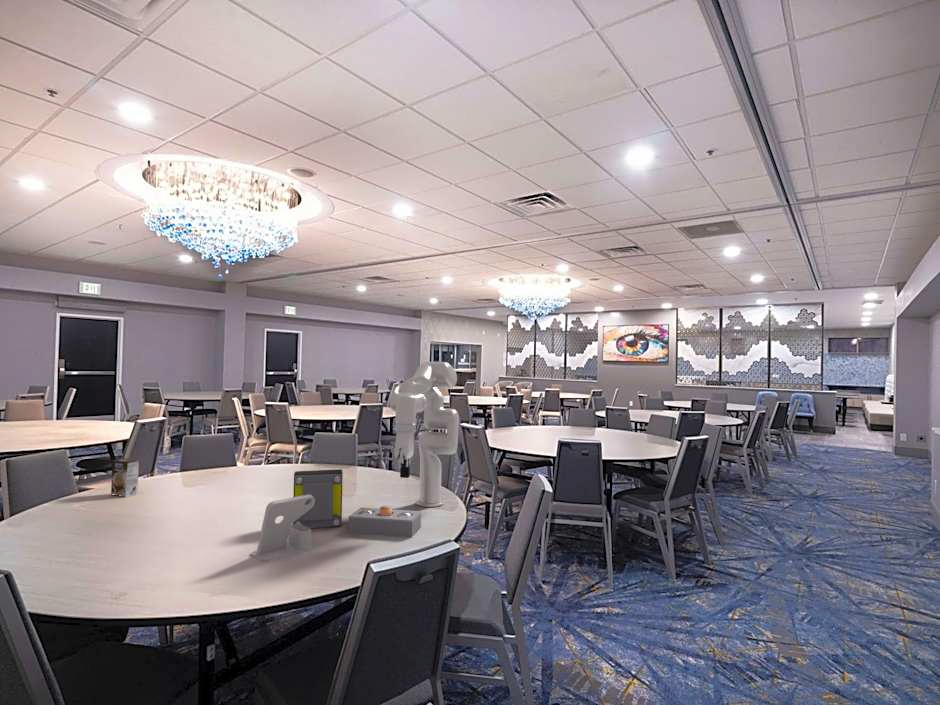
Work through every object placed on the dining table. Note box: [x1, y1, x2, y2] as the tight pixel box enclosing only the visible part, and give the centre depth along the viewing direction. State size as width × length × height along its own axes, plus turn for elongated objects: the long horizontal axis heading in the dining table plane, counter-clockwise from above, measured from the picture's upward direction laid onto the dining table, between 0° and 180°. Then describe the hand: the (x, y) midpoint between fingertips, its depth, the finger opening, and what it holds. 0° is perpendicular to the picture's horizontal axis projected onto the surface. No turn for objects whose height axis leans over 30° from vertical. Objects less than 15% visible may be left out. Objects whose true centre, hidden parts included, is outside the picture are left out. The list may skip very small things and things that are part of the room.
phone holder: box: [250, 495, 315, 563], centre depth 171 cm, size 17×10×18 cm, turn 138°
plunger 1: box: [360, 509, 372, 515], centre depth 196 cm, size 4×4×5 cm
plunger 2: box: [399, 512, 411, 517], centre depth 193 cm, size 4×4×5 cm
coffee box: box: [110, 458, 140, 497], centre depth 240 cm, size 9×6×16 cm
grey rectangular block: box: [348, 507, 422, 538], centre depth 194 cm, size 12×24×6 cm, turn 80°
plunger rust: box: [379, 505, 393, 516], centre depth 194 cm, size 4×4×5 cm
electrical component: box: [292, 468, 343, 529], centre depth 199 cm, size 18×10×20 cm, turn 105°
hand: (404, 477), depth 195 cm, fingers closed
